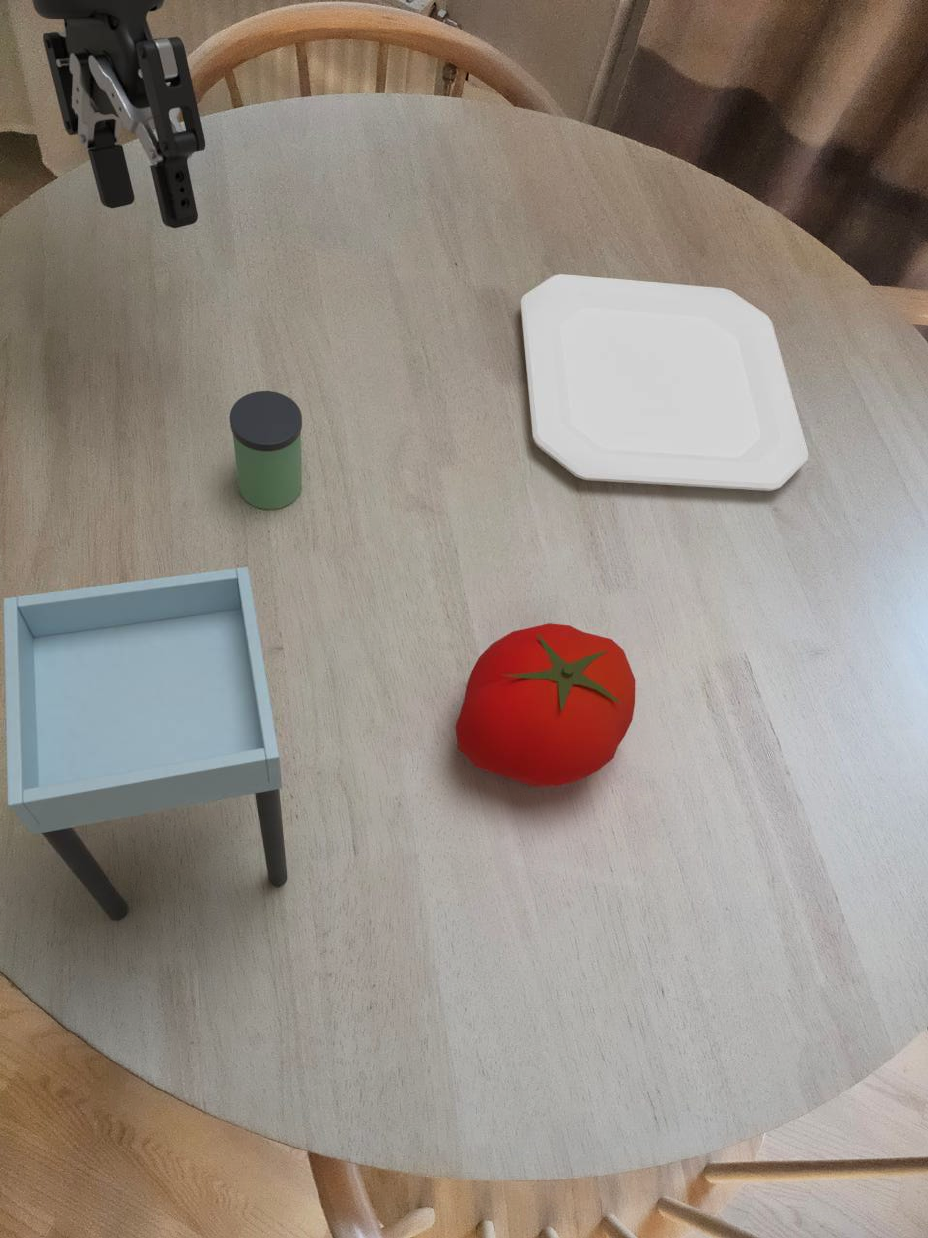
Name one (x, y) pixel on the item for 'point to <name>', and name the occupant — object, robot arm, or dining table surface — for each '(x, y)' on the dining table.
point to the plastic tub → (267, 448)
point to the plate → (658, 384)
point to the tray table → (138, 711)
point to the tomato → (547, 705)
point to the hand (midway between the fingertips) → (149, 214)
